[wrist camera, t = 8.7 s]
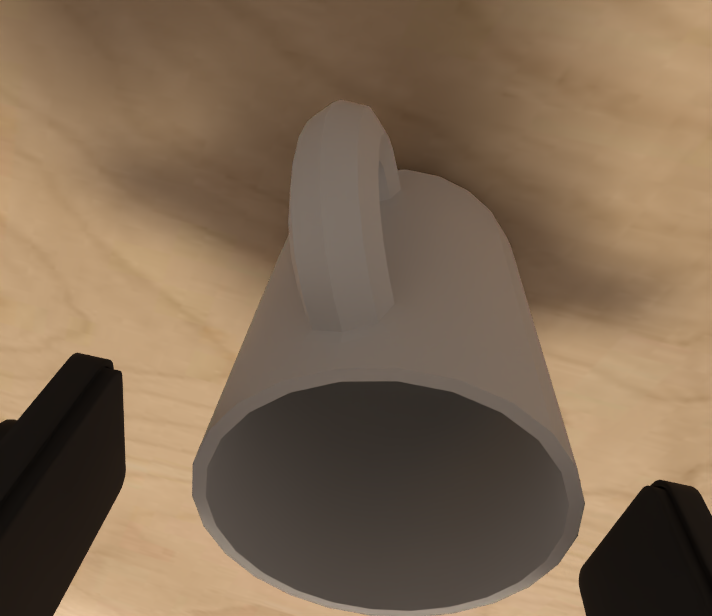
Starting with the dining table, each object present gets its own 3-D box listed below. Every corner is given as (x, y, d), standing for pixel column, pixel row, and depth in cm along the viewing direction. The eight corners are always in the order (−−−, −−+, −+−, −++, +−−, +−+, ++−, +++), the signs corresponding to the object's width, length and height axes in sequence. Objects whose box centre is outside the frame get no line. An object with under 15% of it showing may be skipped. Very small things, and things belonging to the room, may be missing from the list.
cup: (315, 371, 20) (259, 621, 13) (221, 89, 15) (39, 243, 8) (519, 348, 19) (584, 613, 12) (495, 30, 14) (586, 148, 6)
